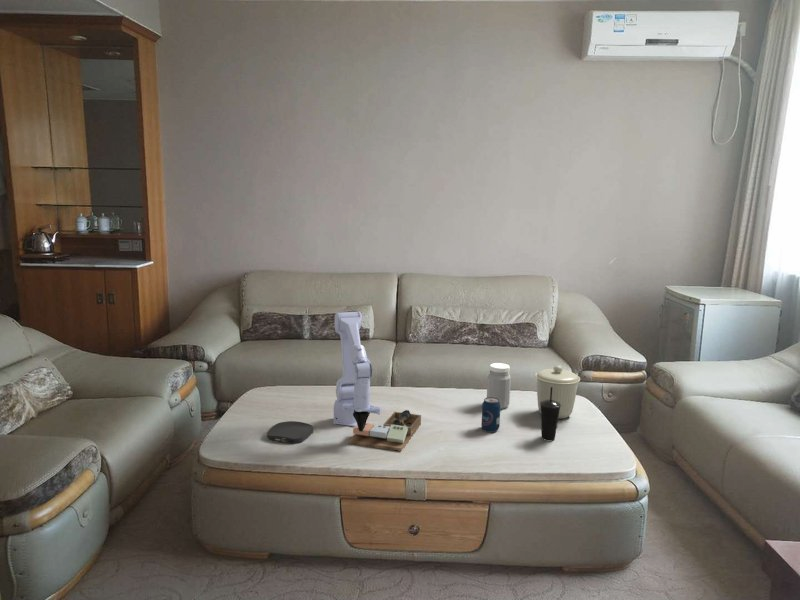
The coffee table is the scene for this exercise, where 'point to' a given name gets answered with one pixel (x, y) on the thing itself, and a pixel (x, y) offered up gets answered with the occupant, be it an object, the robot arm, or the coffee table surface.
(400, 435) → the tile
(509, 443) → the coffee table surface
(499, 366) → the jar
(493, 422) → the soda can
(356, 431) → the tile
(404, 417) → the eagle figurine
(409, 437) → the board
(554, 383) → the canister
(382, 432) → the tile
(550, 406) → the drinking cup
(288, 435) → the media streaming box
